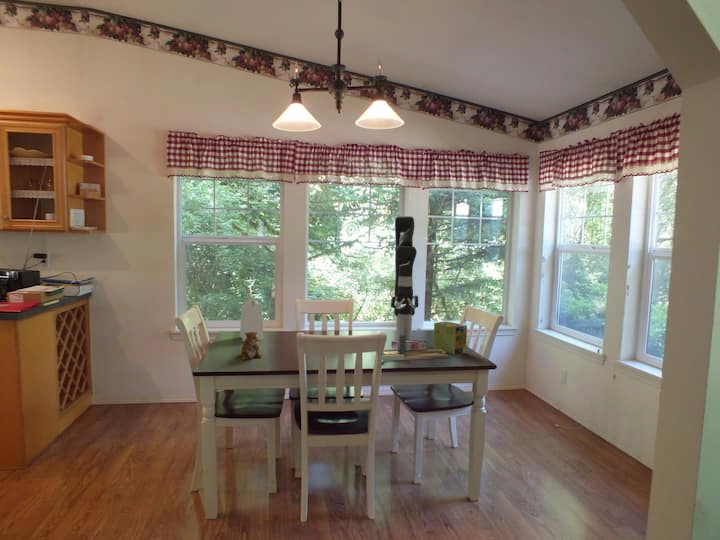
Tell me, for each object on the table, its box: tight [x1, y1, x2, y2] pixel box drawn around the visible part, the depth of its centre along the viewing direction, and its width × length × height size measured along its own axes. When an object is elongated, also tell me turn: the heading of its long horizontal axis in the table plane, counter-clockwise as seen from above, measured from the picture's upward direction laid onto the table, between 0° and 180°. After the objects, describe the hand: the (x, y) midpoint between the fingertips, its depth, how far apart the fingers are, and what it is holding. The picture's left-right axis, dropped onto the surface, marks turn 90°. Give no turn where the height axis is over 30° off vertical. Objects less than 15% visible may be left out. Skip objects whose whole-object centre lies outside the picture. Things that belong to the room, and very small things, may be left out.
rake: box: [398, 335, 406, 355], centre depth 232 cm, size 6×3×11 cm, turn 13°
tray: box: [382, 348, 405, 364], centre depth 231 cm, size 12×12×4 cm
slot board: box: [403, 348, 449, 361], centre depth 235 cm, size 13×24×3 cm, turn 103°
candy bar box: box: [391, 339, 428, 351], centre depth 244 cm, size 11×5×16 cm
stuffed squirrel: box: [240, 332, 262, 361], centre depth 230 cm, size 10×14×13 cm
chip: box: [391, 351, 400, 355], centre depth 231 cm, size 4×4×3 cm
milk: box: [239, 294, 264, 342], centre depth 266 cm, size 12×12×26 cm
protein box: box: [432, 320, 468, 355], centre depth 247 cm, size 10×15×16 cm
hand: (404, 315), depth 231 cm, fingers open, 8 cm apart
